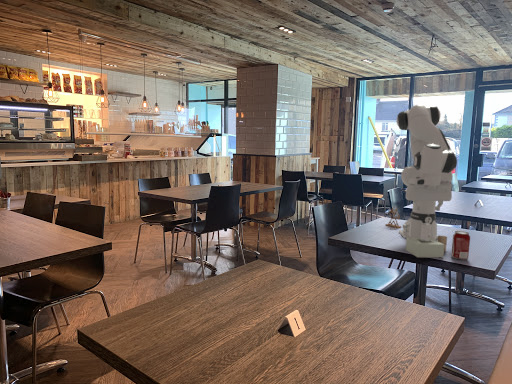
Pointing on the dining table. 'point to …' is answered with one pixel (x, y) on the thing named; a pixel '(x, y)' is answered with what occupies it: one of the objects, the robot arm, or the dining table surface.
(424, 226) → the white tall square block
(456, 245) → the soda can
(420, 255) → the hole block
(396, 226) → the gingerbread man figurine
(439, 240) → the short wooden pin
